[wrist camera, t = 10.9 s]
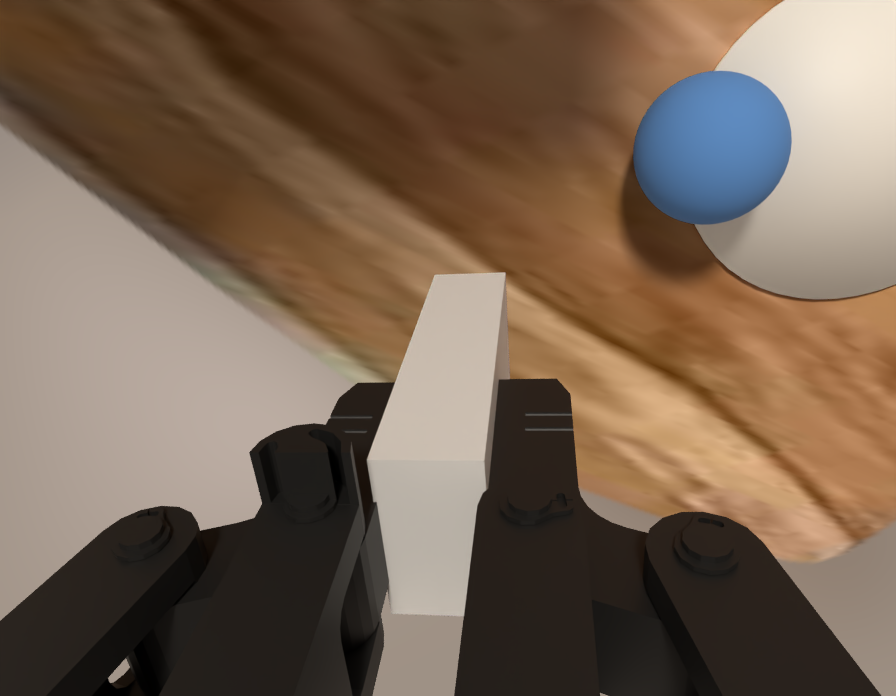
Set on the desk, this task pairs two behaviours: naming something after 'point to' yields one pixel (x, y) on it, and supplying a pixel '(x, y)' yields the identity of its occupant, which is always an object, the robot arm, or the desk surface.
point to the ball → (712, 147)
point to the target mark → (822, 152)
